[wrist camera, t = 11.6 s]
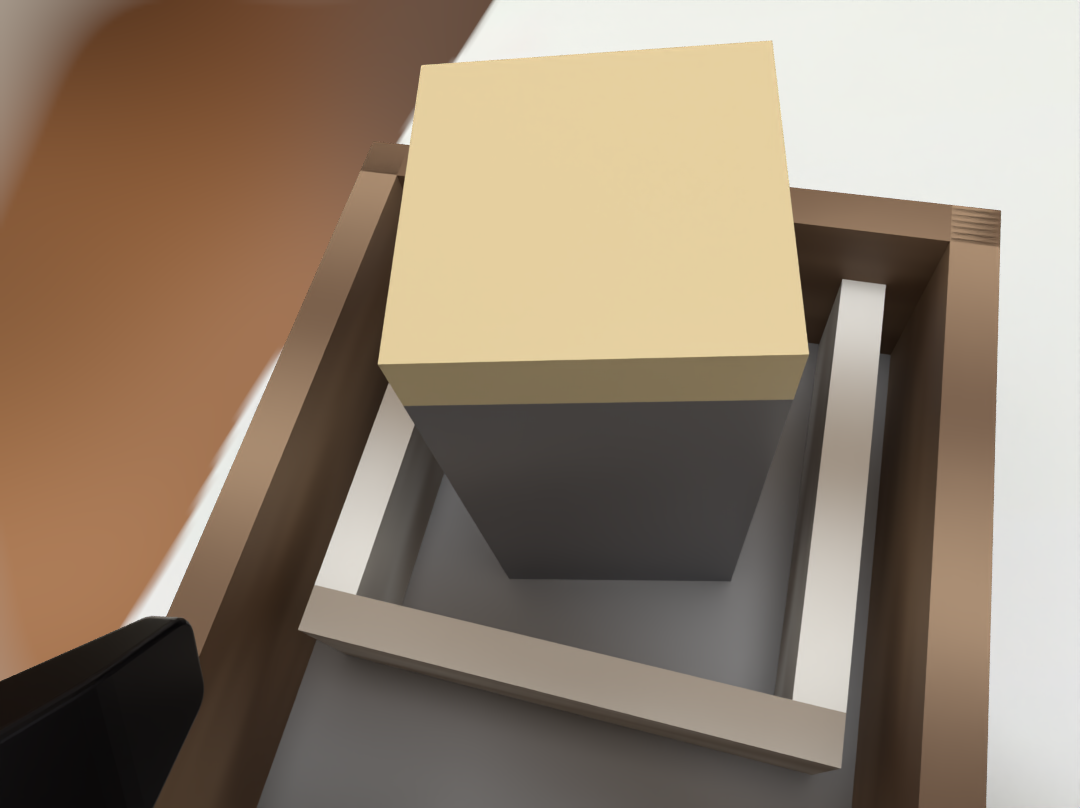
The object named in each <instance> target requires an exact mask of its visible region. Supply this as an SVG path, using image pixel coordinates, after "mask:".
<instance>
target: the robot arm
mask: <svg viewBox="0 0 1080 808" xmlns="http://www.w3.org/2000/svg"><path fill="white" fill-rule="evenodd" d="M203 696H204V680H203V675H202V670H201V665H200V660H199V655H198V651H197V646H196V641H195V636H194V632H193V628H192V626H191V624H190V623H189V622H188V621H187V620H186V619H184V618H181V617H160V616H150V617H145V618H143V619H140V620H138V621H136V622H134V623H131V624H129V625H127V626H124V627H122V628H120V629H118V630H115V631H113V632H111V633H109V634H106V635H104V636H102V637H100V638H97V639H95V640H93V641H90V642H88V643H86V644H84V645H82V646H79V647H77V648H75V649H72V650H70V651H68V652H66V653H63V654H61V655H59V656H57V657H54V658H52V659H50V660H48V661H45V662H43V663H41V664H38V665H36V666H34V667H32V668H29V669H27V670H25V671H23V672H20V673H18V674H16V675H13V676H11V677H9V678H7V679H4V680H2V681H0V808H154V806H155V804H156V802H157V800H158V798H159V795H160V793H161V791H162V789H163V787H164V785H165V783H166V780H167V778H168V776H169V774H170V772H171V770H172V768H173V765H174V763H175V761H176V759H177V757H178V755H179V753H180V751H181V748H182V746H183V744H184V742H185V740H186V738H187V736H188V733H189V731H190V729H191V727H192V725H193V723H194V721H195V718H196V716H197V714H198V712H199V710H200V707H201V704H202V701H203Z"/></svg>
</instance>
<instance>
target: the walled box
mask: <svg viewBox="0 0 1080 808" xmlns="http://www.w3.org/2000/svg"><path fill="white" fill-rule="evenodd" d="M409 147H410V145H403V144H394V143H385V142H376V141H374V142H373V144H372V146H371V148H370V151H369V153H368V155H367V157H366V160H365V162H364V164H363V167H362V169H361V171H360V173H359V176H358V178H357V180H356V183H355V185H354V187H353V189H352V192H351V194H350V196H349V199H348V201H347V203H346V206H345V208H344V210H343V212H342V215H341V217H340V219H339V221H338V224H337V226H336V228H335V231H334V233H333V235H332V238H331V240H330V242H329V245H328V247H327V249H326V251H325V254H324V256H323V258H322V261H321V263H320V265H319V268H318V270H317V272H316V274H315V277H314V279H313V281H312V284H311V286H310V288H309V290H308V293H307V295H306V297H305V299H304V302H303V304H302V306H301V309H300V311H299V314H298V316H297V318H296V320H295V322H294V325H293V327H292V329H291V332H290V334H289V336H288V339H287V341H286V343H285V345H284V348H283V350H282V352H281V355H280V357H279V359H278V361H277V364H276V366H275V368H274V371H273V373H272V375H271V378H270V380H269V382H268V384H267V387H266V389H265V391H264V394H263V396H262V398H261V400H260V403H259V405H258V407H257V410H256V412H255V414H254V417H253V419H252V421H251V423H250V426H249V428H248V430H247V433H246V435H245V437H244V439H243V442H242V444H241V446H240V449H239V451H238V453H237V456H236V458H235V460H234V462H233V465H232V467H231V469H230V472H229V474H228V476H227V479H226V481H225V483H224V485H223V488H222V490H221V492H220V495H219V497H218V499H217V501H216V504H215V506H214V508H213V511H212V513H211V515H210V518H209V520H208V522H207V524H206V527H205V529H204V531H203V534H202V536H201V538H200V540H199V543H198V545H197V547H196V550H195V552H194V554H193V557H192V559H191V561H190V563H189V566H188V568H187V570H186V573H185V575H184V577H183V579H182V582H181V584H180V586H179V589H178V591H177V593H176V596H175V598H174V600H173V602H172V605H171V607H170V609H169V612H168V614H167V616H166V617H181V618H184V619H186V620H187V621H188V622H189V623H190V624H191V626H192V628H193V632H194V636H195V641H196V646H197V651H198V655H199V660H200V665H201V670H202V675H203V680H204V696H203V701H202V704H201V707H200V710H199V712H198V714H197V716H196V718H195V721H194V723H193V725H192V727H191V729H190V731H189V733H188V736H187V738H186V740H185V742H184V744H183V746H182V748H181V751H180V753H179V755H178V757H177V759H176V761H175V763H174V765H173V768H172V770H171V772H170V774H169V776H168V778H167V780H166V783H165V785H164V787H163V789H162V791H161V793H160V795H159V798H158V800H157V802H156V804H155V806H154V808H986V785H987V745H988V705H989V665H990V625H991V586H992V546H993V506H994V466H995V426H996V387H997V347H998V307H999V267H1000V228H1001V210H991V209H982V208H973V207H964V206H955V205H946V204H937V203H928V202H919V201H910V200H901V199H892V198H883V197H874V196H865V195H856V194H847V193H838V192H829V191H819V190H810V189H801V188H792V187H789V188H790V197H791V205H792V214H793V222H794V231H795V239H796V248H797V256H798V265H799V273H800V282H801V290H802V299H803V307H804V316H805V324H806V333H807V341H808V350H809V356H808V359H807V362H806V365H805V368H804V370H803V373H802V376H801V379H800V382H799V385H798V388H797V391H796V394H795V397H794V399H793V402H792V405H791V408H790V411H789V414H788V417H787V420H786V423H785V426H784V428H783V431H782V434H781V437H780V440H779V443H778V446H777V449H776V452H775V455H774V457H773V460H772V463H771V466H770V469H769V472H768V475H767V478H766V481H765V484H764V486H763V489H762V492H761V495H760V498H759V501H758V504H757V507H756V510H755V513H754V515H753V518H752V521H751V524H750V527H749V530H748V533H747V536H746V539H745V542H744V544H743V547H742V550H741V553H740V556H739V559H738V562H737V565H736V568H735V571H734V573H733V576H732V579H731V581H652V580H560V579H509V578H508V576H507V574H506V573H505V571H504V570H503V568H502V566H501V565H500V563H499V561H498V560H497V558H496V557H495V555H494V553H493V552H492V550H491V548H490V547H489V545H488V543H487V542H486V540H485V539H484V537H483V535H482V534H481V532H480V530H479V529H478V527H477V526H476V524H475V522H474V521H473V519H472V517H471V516H470V514H469V512H468V511H467V509H466V508H465V506H464V504H463V503H462V501H461V499H460V498H459V496H458V495H457V493H456V491H455V490H454V488H453V486H452V485H451V483H450V481H449V480H448V478H447V477H446V475H445V473H444V472H443V470H442V468H441V467H440V465H439V464H438V462H437V460H436V459H435V457H434V455H433V454H432V452H431V450H430V449H429V447H428V446H427V444H426V442H425V441H424V439H423V437H422V436H421V434H420V432H419V431H418V429H417V428H416V426H415V424H414V423H413V421H412V419H411V418H410V416H409V415H408V413H407V411H406V410H405V408H404V406H403V405H402V403H401V401H400V400H399V398H398V397H397V395H396V393H395V392H394V390H393V388H392V387H391V385H390V384H389V382H388V380H387V379H386V377H385V375H384V374H383V372H382V370H381V369H380V367H379V366H378V359H379V352H380V345H381V339H382V332H383V325H384V318H385V311H386V304H387V298H388V291H389V284H390V277H391V270H392V263H393V256H394V250H395V243H396V236H397V229H398V222H399V215H400V209H401V202H402V195H403V188H404V181H405V174H406V168H407V161H408V154H409Z"/></svg>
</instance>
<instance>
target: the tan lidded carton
mask: <svg viewBox="0 0 1080 808" xmlns="http://www.w3.org/2000/svg"><path fill="white" fill-rule="evenodd" d="M808 356H809V350H808V341H807V333H806V324H805V316H804V307H803V299H802V290H801V282H800V273H799V265H798V256H797V248H796V239H795V231H794V222H793V214H792V205H791V197H790V188H789V180H788V171H787V163H786V154H785V146H784V137H783V129H782V120H781V112H780V103H779V95H778V86H777V78H776V69H775V61H774V52H773V44H772V41H760V42H745V43H731V44H717V45H703V46H689V47H674V48H660V49H646V50H632V51H617V52H603V53H589V54H575V55H561V56H546V57H532V58H518V59H504V60H489V61H475V62H461V63H447V64H433V65H422V66H421V73H420V79H419V85H418V92H417V99H416V106H415V113H414V120H413V126H412V133H411V140H410V147H409V154H408V161H407V168H406V174H405V181H404V188H403V195H402V202H401V209H400V215H399V222H398V229H397V236H396V243H395V250H394V256H393V263H392V270H391V277H390V284H389V291H388V298H387V304H386V311H385V318H384V325H383V332H382V339H381V345H380V352H379V359H378V366H379V367H380V369H381V370H382V372H383V374H384V375H385V377H386V379H387V380H388V382H389V384H390V385H391V387H392V388H393V390H394V392H395V393H396V395H397V397H398V398H399V400H400V401H401V403H402V405H403V406H404V408H405V410H406V411H407V413H408V415H409V416H410V418H411V419H412V421H413V423H414V424H415V426H416V428H417V429H418V431H419V432H420V434H421V436H422V437H423V439H424V441H425V442H426V444H427V446H428V447H429V449H430V450H431V452H432V454H433V455H434V457H435V459H436V460H437V462H438V464H439V465H440V467H441V468H442V470H443V472H444V473H445V475H446V477H447V478H448V480H449V481H450V483H451V485H452V486H453V488H454V490H455V491H456V493H457V495H458V496H459V498H460V499H461V501H462V503H463V504H464V506H465V508H466V509H467V511H468V512H469V514H470V516H471V517H472V519H473V521H474V522H475V524H476V526H477V527H478V529H479V530H480V532H481V534H482V535H483V537H484V539H485V540H486V542H487V543H488V545H489V547H490V548H491V550H492V552H493V553H494V555H495V557H496V558H497V560H498V561H499V563H500V565H501V566H502V568H503V570H504V571H505V573H506V574H507V576H508V578H509V579H560V580H652V581H731V579H732V576H733V573H734V571H735V568H736V565H737V562H738V559H739V556H740V553H741V550H742V547H743V544H744V542H745V539H746V536H747V533H748V530H749V527H750V524H751V521H752V518H753V515H754V513H755V510H756V507H757V504H758V501H759V498H760V495H761V492H762V489H763V486H764V484H765V481H766V478H767V475H768V472H769V469H770V466H771V463H772V460H773V457H774V455H775V452H776V449H777V446H778V443H779V440H780V437H781V434H782V431H783V428H784V426H785V423H786V420H787V417H788V414H789V411H790V408H791V405H792V402H793V399H794V397H795V394H796V391H797V388H798V385H799V382H800V379H801V376H802V373H803V370H804V368H805V365H806V362H807V359H808Z"/></svg>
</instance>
